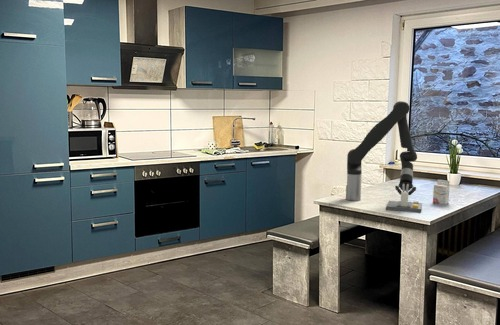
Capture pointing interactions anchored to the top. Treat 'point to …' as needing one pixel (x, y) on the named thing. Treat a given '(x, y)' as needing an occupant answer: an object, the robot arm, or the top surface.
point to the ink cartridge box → (441, 192)
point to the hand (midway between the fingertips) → (404, 199)
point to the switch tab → (404, 199)
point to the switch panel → (411, 207)
